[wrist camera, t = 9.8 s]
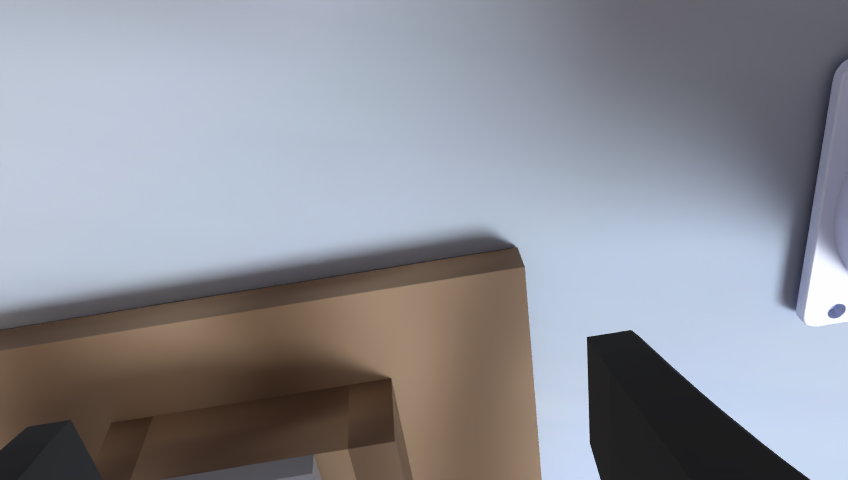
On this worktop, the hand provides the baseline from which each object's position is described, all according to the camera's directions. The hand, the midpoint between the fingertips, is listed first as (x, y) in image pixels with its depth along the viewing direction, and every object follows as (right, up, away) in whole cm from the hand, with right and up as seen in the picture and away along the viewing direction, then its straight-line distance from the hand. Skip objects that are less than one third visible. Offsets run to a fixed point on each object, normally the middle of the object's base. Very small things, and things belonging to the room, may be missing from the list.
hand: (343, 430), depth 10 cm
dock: (-3, -6, +13) cm, 15 cm away
